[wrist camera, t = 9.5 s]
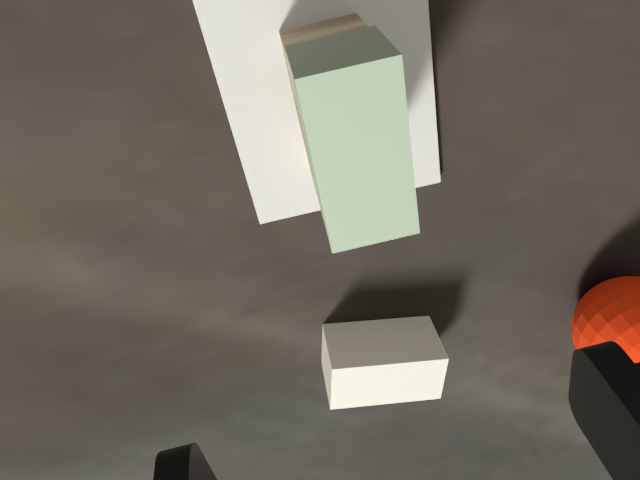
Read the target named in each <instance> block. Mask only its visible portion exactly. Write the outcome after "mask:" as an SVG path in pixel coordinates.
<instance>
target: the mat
mask: <svg viewBox="0 0 640 480" xmlns="http://www.w3.org/2000/svg"><path fill="white" fill-rule="evenodd" d="M193 3H194V6H195V10H196V13H197V16H198V20H199V23H200V26H201V30H202V33H203V36H204V40H205V43H206V46H207V50H208V53H209V56H210V60H211V63H212V66H213V70H214V73H215V76H216V80H217V83H218V86H219V90H220V93H221V96H222V100H223V103H224V106H225V109H226V113H227V116H228V119H229V123H230V126H231V129H232V133H233V136H234V139H235V143H236V146H237V149H238V153H239V156H240V159H241V163H242V166H243V169H244V173H245V176H246V179H247V183H248V186H249V189H250V193H251V196H252V199H253V203H254V206H255V209H256V212H257V216H258V219H259V222H260V224H263V223H267V222H271V221H276V220H280V219H284V218H289V217H293V216H297V215H301V214H306V213H310V212H314V211H319V210H321V209H320V207H319V203H318V199H317V196H316V192H315V188H314V184H313V180H312V177H311V173H310V169H309V164H308V160H307V155H306V151H305V146H304V142H303V137H302V133H301V128H300V124H299V119H298V115H297V110H296V106H295V101H294V97H293V92H292V88H291V83H290V79H289V74H288V70H287V65H286V61H285V56H284V52H283V48H282V43H281V39H280V34H279V31H281V30H285V29H289V28H294V27H298V26H302V25H307V24H311V23H315V22H320V21H324V20H328V19H332V18H337V17H341V16H345V15H350V14H354V13H357V15H358V16H359V17H360V18H361V19H362V20H363V21H364V22H365V24H366V25H367V26H368V27H370V26H374V25H375V26H376V27H377V28H378V29H379V30H380V31H381V32H382V33H383V35H384V36H385V37H386V38H387V39H388V40H389V41H390V42H391V43H392V44H393V45H394V46H395V47H396V48H397V50H398V51H399V52H400V53H401V54H402V59H403V69H404V79H405V89H406V99H407V109H408V119H409V129H410V139H411V149H412V159H413V169H414V179H415V188H417V187H422V186H426V185H430V184H435V183H439V182H441V180H440V165H439V151H438V136H437V122H436V107H435V92H434V78H433V63H432V49H431V34H430V19H429V5H428V0H193Z"/></svg>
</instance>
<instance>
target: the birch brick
mask: <svg viewBox="0 0 640 480" xmlns="http://www.w3.org/2000/svg"><path fill="white" fill-rule="evenodd" d="M365 27H368V26H367V25H366V24H365V22H364V21H363V20H362V19H361V18H360V17H359V16H358V15H357V13H354V14H350V15H345V16H341V17H337V18H332V19H328V20H324V21H320V22H315V23H311V24H307V25H302V26H298V27H294V28H289V29H285V30H281V31H279V34H280V39H281V43H282V48H283V52H284V56H285V61H286V65H287V70H288V74H289V79H290V83H291V88H292V92H293V97H294V101H295V106H296V110H297V115H298V119H299V124H300V128H301V133H302V137H303V142H304V146H305V151H306V155H307V160H308V164H309V169H310V173H311V177H312V180H313V184H314V188H315V192H316V187H315V183H314V178H313V174H312V169H311V165H310V160H309V155H308V151H307V146H306V142H305V137H304V133H303V128H302V124H301V119H300V115H299V110H298V106H297V101H296V97H295V92H294V87H293V83H292V78H291V74H290V69H289V65H288V60H287V56H286V51H285V47H284V46H288V45H292V44H296V43H300V42H305V41H309V40H313V39H318V38H322V37H326V36H331V35H335V34H339V33H344V32H348V31H352V30H357V29H361V28H365ZM316 196H317V192H316ZM317 199H318V196H317ZM318 203H319V201H318ZM319 207H320V205H319Z"/></svg>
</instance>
